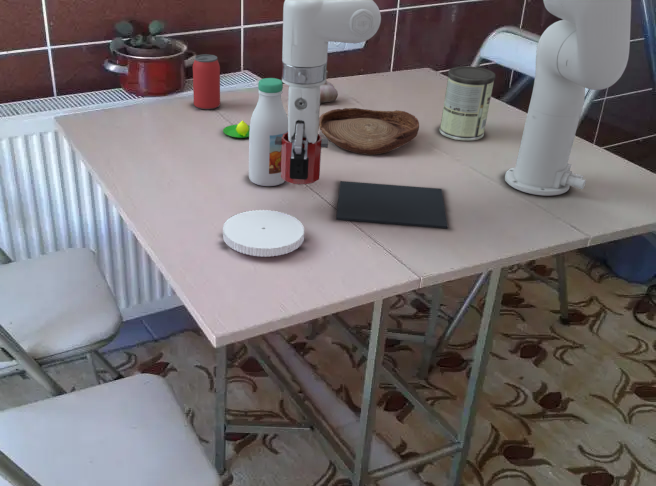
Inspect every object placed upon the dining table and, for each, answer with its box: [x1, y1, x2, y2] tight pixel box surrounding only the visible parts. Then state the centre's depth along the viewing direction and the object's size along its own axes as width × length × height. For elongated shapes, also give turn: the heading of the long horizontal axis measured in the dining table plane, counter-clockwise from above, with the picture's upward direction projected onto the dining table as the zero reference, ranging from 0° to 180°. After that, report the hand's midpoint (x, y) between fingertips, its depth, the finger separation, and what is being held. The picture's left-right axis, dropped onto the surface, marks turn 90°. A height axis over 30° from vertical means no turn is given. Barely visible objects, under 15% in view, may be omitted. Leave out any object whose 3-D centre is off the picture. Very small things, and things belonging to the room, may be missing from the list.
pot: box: [275, 132, 330, 185], centre depth 135 cm, size 9×7×8 cm
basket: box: [319, 107, 420, 156], centre depth 169 cm, size 22×20×5 cm
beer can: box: [192, 53, 221, 111], centre depth 183 cm, size 7×7×12 cm
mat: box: [336, 180, 448, 229], centre depth 142 cm, size 20×16×1 cm
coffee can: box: [438, 65, 497, 142], centre depth 171 cm, size 10×10×14 cm
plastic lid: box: [222, 209, 305, 258], centre depth 129 cm, size 14×14×2 cm
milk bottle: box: [248, 77, 288, 187], centre depth 145 cm, size 8×8×20 cm
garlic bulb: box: [320, 70, 339, 104], centre depth 189 cm, size 8×7×8 cm
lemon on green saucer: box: [222, 120, 250, 139], centre depth 171 cm, size 8×8×3 cm
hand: (300, 168), depth 136 cm, fingers closed on pot, 7 cm apart
